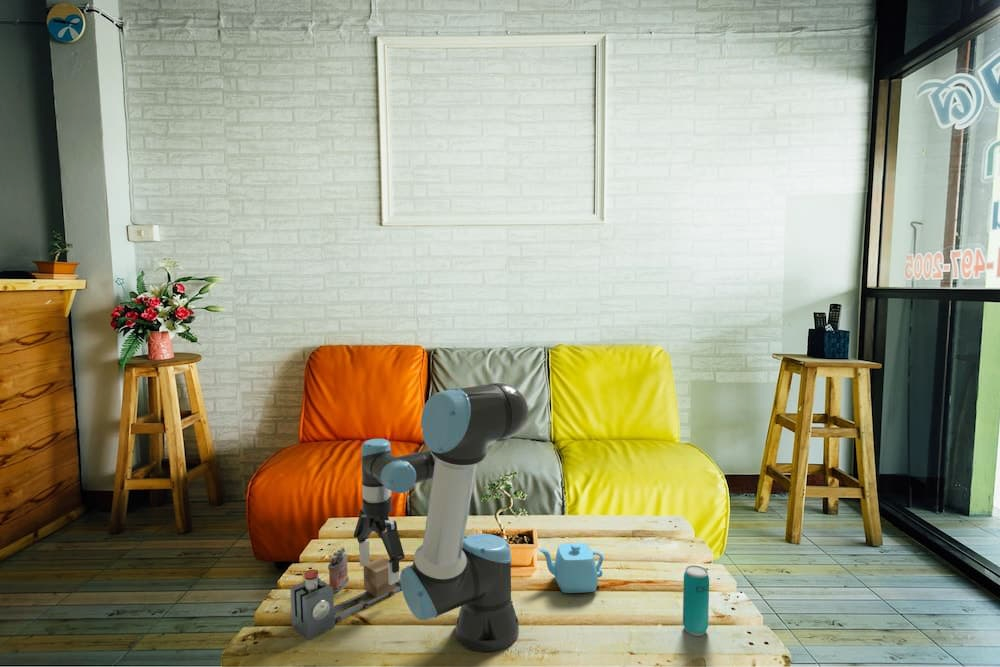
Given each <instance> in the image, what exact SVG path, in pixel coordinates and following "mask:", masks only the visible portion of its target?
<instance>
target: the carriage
mask: <svg viewBox="0 0 1000 667" xmlns="http://www.w3.org/2000/svg"><path fill="white" fill-rule="evenodd" d="M388 560H389V559H388V558H385V557H383V556H380V557H378V558H376V559H374V560H372V561H370V562H369V563H366V564H364V566H363V587H364V588H363V589H364V591H365V592H366V591H367V592H369V593H370V594H372V597H374V596H375V597H376V598H378V597H380V596H382V595H384V594H386V593H388V592H390V591H392V590H395V589H396V583H394V584H392V585H389V576H388Z"/></svg>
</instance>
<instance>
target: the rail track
mask: <svg viewBox="0 0 1000 667" xmlns="http://www.w3.org/2000/svg"><path fill="white" fill-rule="evenodd" d="M399 591H402V588H401V582H400V579H399V581H398V582H396V589H395V590H392V591H390V592H388V593H386V594H384V595H382V596H380V597H378V598H376V597H375V596H373V595H372V594H370V593H369V592H367V591H366V590H365V591H364V592H362V593H359V594H357V595H355V596H354V597H351V598H348V599H347V600H345V601H342V602H341V603H338V604H337V605H334V621H335V623H340V622H342V621H343V619H344V618H347V617H348V616H351V615H352V614H354V613H357V612H359V611H361V610H363V609H365V610H366V609H368V607H369V608H370V606H371V605H373V604H375V603H378V602H380V601H382V600H383V598H384V599H386V598H387V597H393V596H395V595H396V593H398V592H399ZM381 599H382V600H381ZM357 603H358V604H357ZM354 604H355V605H354ZM350 605H351V607H350ZM348 606H349V607H348ZM341 609H342V610H343V611H342V610H341ZM344 609H345V610H344ZM295 626H296V625H295ZM296 627H297V626H296ZM296 627H295V628H296ZM295 628H294V629H295ZM302 633H303V634H304V632H302ZM302 636H303V637H304V635H302Z"/></svg>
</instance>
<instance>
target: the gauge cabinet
mask: <svg viewBox="0 0 1000 667" xmlns="http://www.w3.org/2000/svg"><path fill="white" fill-rule="evenodd" d="M317 581H318V590H317V591H314V592H312V593H310V594H307V595H306V585H305V581H303V582H300V583H298V584H295V585H293V586H291V587H290V590H289V591H290V606H291V607H290V608H291V609H290V610H291V612H290V613H291V627H292V628H294V629H295V630H296V631H297V632H298V633H299V634H300V635H302V636H303V635H304V636H303V637H304V638H305V639H306V640H307V641H309V640H311V639H313V638H315V637H317V636H320V635H321V634H323V633H326V632H328V631H329V630H331V629H333V628H335V624H336V622H335V621H334V606H335V604H334V603H335V601H334V600H335V598H334V594H333V588H332V587H331V586H330V584H329V585H328V584H327V583H326V582H325V581H323V580H322V579H321V578H319V577H318V576H317ZM295 625H296V626H297V627H296V626H295ZM295 627H296V628H295ZM302 632H304V634H303V633H302Z"/></svg>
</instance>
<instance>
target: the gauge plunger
mask: <svg viewBox="0 0 1000 667" xmlns="http://www.w3.org/2000/svg"><path fill="white" fill-rule="evenodd" d="M318 576H319V571H318V570H317V569H308V570H306V571H304V576H303V578H304V580H305V581H304V582H305V585H306V595H307V594H310V593H312V592H314V591H317V590H318V581H317V577H318Z"/></svg>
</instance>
